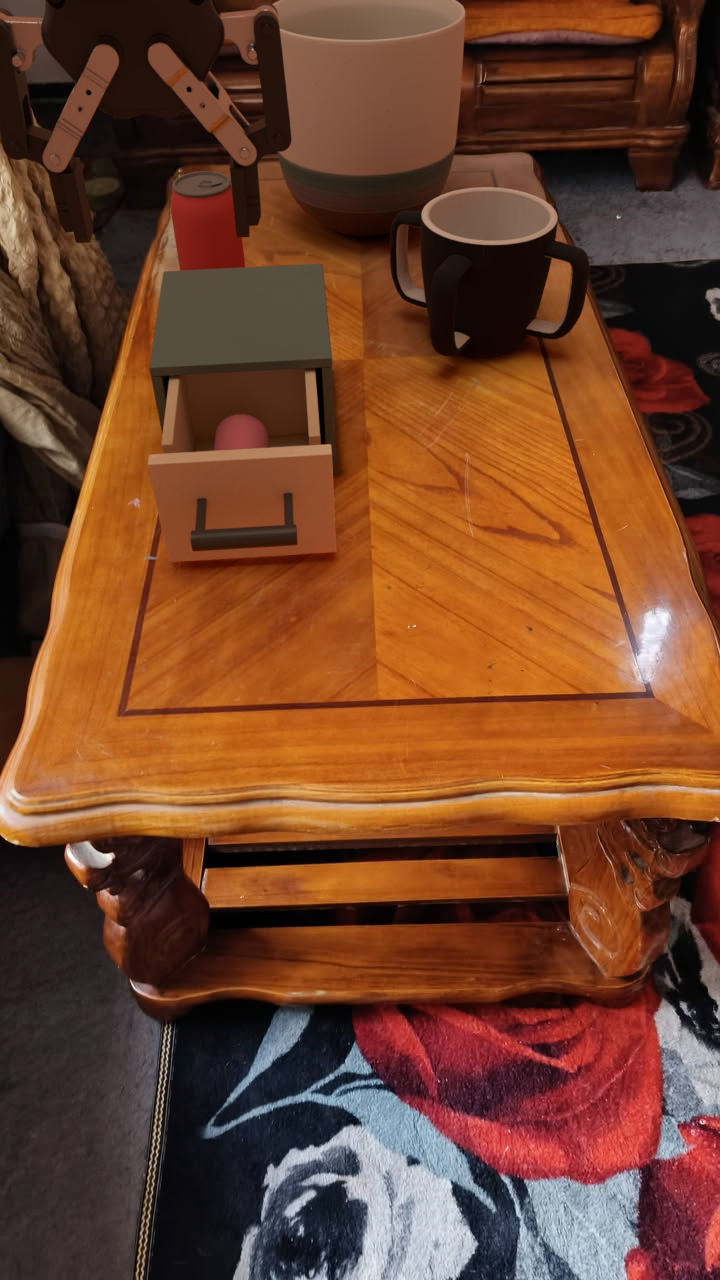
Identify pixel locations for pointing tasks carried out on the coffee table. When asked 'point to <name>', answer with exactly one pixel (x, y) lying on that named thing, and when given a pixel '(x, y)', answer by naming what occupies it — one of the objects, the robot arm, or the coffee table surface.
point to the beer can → (205, 222)
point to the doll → (241, 433)
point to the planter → (370, 106)
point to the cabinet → (245, 329)
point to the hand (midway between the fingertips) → (165, 234)
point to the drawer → (244, 469)
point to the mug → (486, 269)
